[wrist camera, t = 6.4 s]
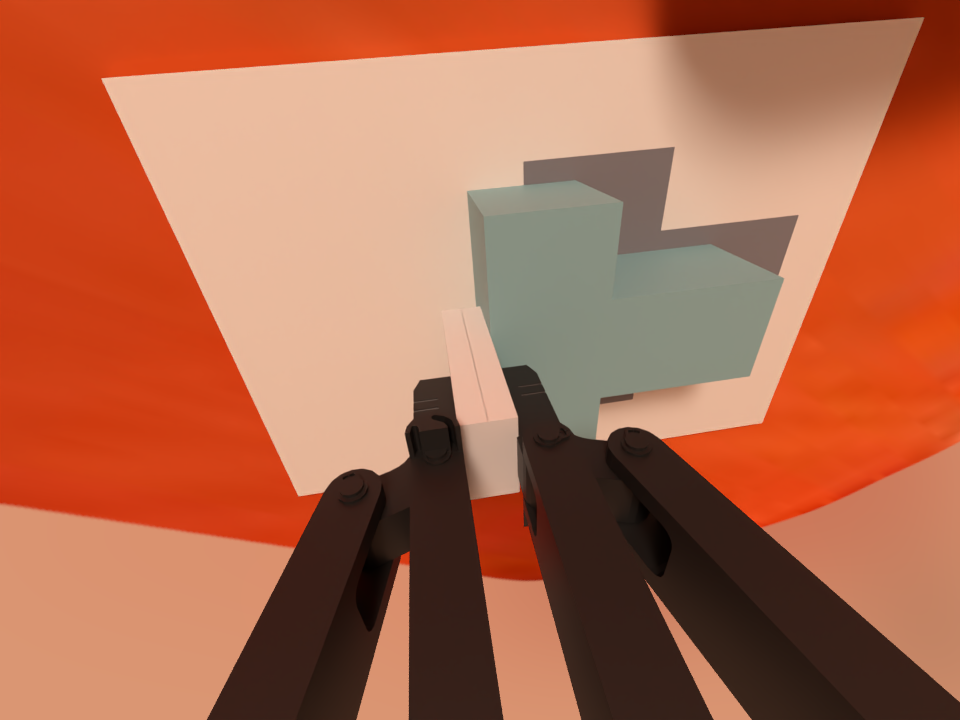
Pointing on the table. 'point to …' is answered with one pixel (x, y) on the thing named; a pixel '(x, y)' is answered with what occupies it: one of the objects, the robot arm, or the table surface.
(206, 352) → the table surface
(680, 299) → the t block
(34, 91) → the table surface
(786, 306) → the mat
